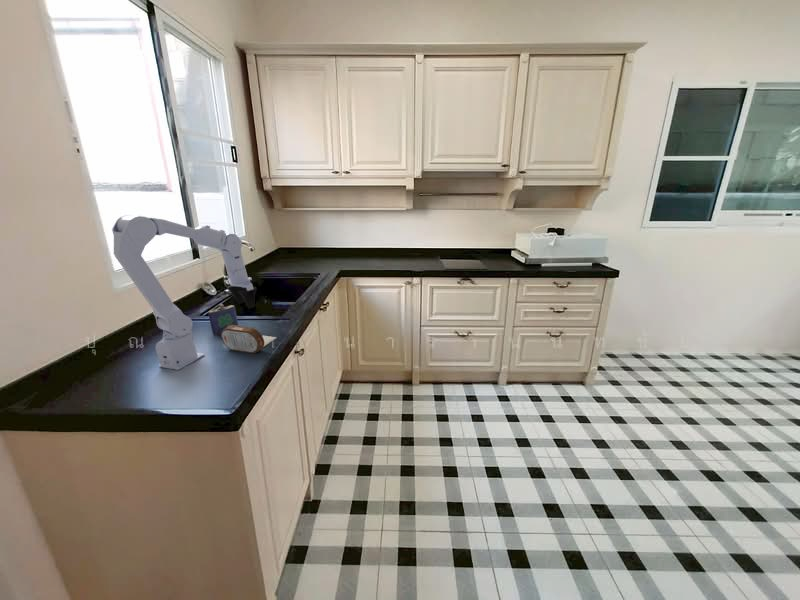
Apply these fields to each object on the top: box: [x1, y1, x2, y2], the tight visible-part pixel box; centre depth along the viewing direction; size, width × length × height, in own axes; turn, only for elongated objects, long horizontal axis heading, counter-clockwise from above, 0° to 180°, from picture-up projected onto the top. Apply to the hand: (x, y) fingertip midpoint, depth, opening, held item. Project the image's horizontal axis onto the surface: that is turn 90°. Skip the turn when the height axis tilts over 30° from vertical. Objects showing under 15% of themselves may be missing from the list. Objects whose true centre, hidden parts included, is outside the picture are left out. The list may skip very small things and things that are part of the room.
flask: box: [207, 303, 240, 336], centre depth 123 cm, size 9×3×11 cm, turn 138°
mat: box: [261, 334, 277, 347], centre depth 115 cm, size 8×10×1 cm
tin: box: [220, 325, 265, 354], centre depth 108 cm, size 15×3×8 cm, turn 72°
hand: (246, 305), depth 119 cm, fingers open, 7 cm apart
